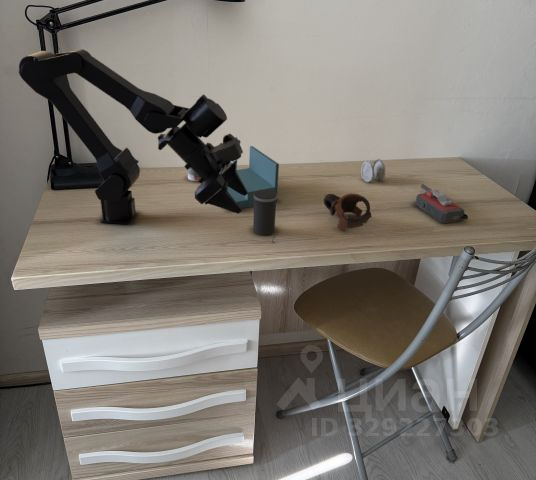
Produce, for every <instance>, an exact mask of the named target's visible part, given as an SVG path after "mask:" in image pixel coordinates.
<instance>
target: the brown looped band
mask: <svg viewBox="0 0 536 480" xmlns="http://www.w3.org/2000/svg"><path fill="white" fill-rule="evenodd" d="M322 200H323V204H324V207H326V209H327V210H328V211H329V213H330V216H331V217H333V216H334V215H337V217H338V219H339V222H338V224H337V228H338V229H339V230H341V231H342V232H343V231H345V230H346V229H354V228H359V227H362V226H364V224H367V223H368V221H369V220H370V219H371V218H373V216H372V212H371V204H370V201H369V200H368V199H367V198H366V197H364V196H363V195H361V194H358V193H351V192H350V193H345V194H344V195H342V196H337V195H336V194H334V193H327V194H325V195H324V197H323V198H322ZM359 202H362V203H363V204H364V205H365V208H366V209H365V212H364V213H363V209H361V208H360V207H358V206H357V204H358V203H359ZM347 213H349V214H353V215H356V216H352V215H349V214H348V215H347V217H346V216H344V215H345V214H347ZM362 213H363V214H362Z"/></svg>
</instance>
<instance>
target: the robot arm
mask: <svg viewBox="0 0 536 480" xmlns="http://www.w3.org/2000/svg"><path fill="white" fill-rule="evenodd" d="M17 71H18V75H19V76H20V78H21V80H22V81H23V82H24V83H25V84H26V85H28V87H30V88H31V89H32V90H33V91H34V92H35V93H36V94H37V95H40V96H41V97H43V98H45V99H46V100H47V101H49V102H50V103H51V104H52V105H53V107H54V108H55V109H56V110H57V111H58V113H59V114H60V115H61V117H62V118H63V119H64V120H65V122H66V123H67V124H68V126H69V127H70V128H71V129H72V131H73V132H74V133H75V134H76V136H77V137H78V138H79V140H80V141H81V142H82V143H83V145H84V146H85V147H86V149H87V150H88V151H89V153H90V154H91V155H92V156H93V158H94V159H95V161H96V165H97V169H98V173H99V175H100V177H101V179H102V181H103V182H102V183H101V184H100V185H99V186H98V187H97V188H96V189H95V190H94V193H95V196H96V197H97V199H98V200H100V208H101V216H102V217H101V218H100V219H99V222H100V223H103V224H117V225H129V224H130V222H131V221H132V219H134V217H135V216H136V214H137V210H136V201H135V197H133V194H132V193H133V192H132V190H130V188H132V187H133V185H134V184H135V182H137V180H138V179H139V178H140V174H141V173H140V172H141V169H140V166H139V164H138V163H139V162H140V161H139V160H138V159H136V157H134V156H133V154H132V152H131V150H130V148H128V147H125V148H123V149H120V148H118V147H117V146H115V145H114V144H113V143H112V141H111V140H110V138H109V137H108V136H107V134H105V132H104V130H103V129H102V128H101V127H100V125H99V124H98V123H97V122H96V120H95V119H94V117H93V116H92V115H91V113H90V112H89V111H88V109H87V108H86V107H85V105H84V104H83V103H82V102H81V100H80V99H79V98H78V96H77V95H76V94H75V92H74V91H73V89H72V88H71V84H70V82H69V77H68V75H71V74H72V75H73V74H76V75H78V76H79V77H80V78H82V79H84V80H86V81H87V82H88V83H89V84H90V85H93V86H94V87H96V88H97V89H98V90H99V91H101V92H103V93H104V94H106V95H107V96H109V97H110V98H111V99H113V100H115V101H116V102H118V103H119V104H121V105H122V106H124V107H125V108H126V109H127V110H128V111H129V112H130V114H131V115H132V117H133V118H134V119H135V121H136V122H137V123H139V124H140V125H141V126H142V127H143V128H144V129H145V130H146V131H148V132H149V133H151V134H153V135H154V134H155V135H157V134H159V135H158V136H157V142H158V145H157V146H158V147H157V149H158V150H159V151H162V150H163V149H164V148H165V147H166V146H168V147H169V148H171V150H172V151H173V152H174V153H175V154H176V155H177V156H178V157H179V158H180V159H181V160H182V161H183V162H184V163H185V165H184V166H183V167H184V168H185V170H187V171H188V169H189V168H191V169H192V170H193V171H194V172H195V173H196V174H197V175H198V176H199V177H200V178H199V180H198V181H197V182H198V183H200V184H199V185H197V188H196V189H195V191H194V199H195V200H196V201H197V202H198V203H199V204H200V205H210V206H214V207H217V208H221V209H223V210H226V211H228V210H229V211H230V212H232V213H234V214H237V215H238V214H240V213H242V211H243V209H242V208H240V207H239V205H238V204H237V203H236V201H235V200H234V199H233V197H232V196H231V195H230V194H229V192H228V190H227V186H228V187H229V188H231V189H233V190H234V191H236V192H238V193H240V194H241V195H243V196H246V195H247V194H248V192H247V190H246V188H245V186H244V184H243V182H242V181H241V179H240V177H239V175H238V173H237V170H238V169H237V168H238V160H239V159H240V158H242V154H244V150H243V148H242V146H241V140H240V139H238V137H237V136H236V137H235V136H234V135H233V134H231V133H227V134H225V135H223V138H222V142H220V143H219V144H218V145H215V146H214V145H213V144H212V143H211V142H206V143H205V142H204V141H203V140H202V139H201V138H202V137H203V138H206V139H207V138H209V137H210V136H211V135H212V134H213V133H214V132H215V131H216V130H217V129H218V128H220V127H221V126H222V125H224V123H225V122H226V121H227V120H228V117H227V114H226V112H225V110H224V109H223V108H222V106H221V105H220V104H219V103H217V102H216V101H214V100H213V99H211V98H208V97H207V95H205V94H202V95H201V96H199V98H198V99H197V100H196V102H194V103H193V105H192V106H191V107H190V108H189V107H185V106H181V105H177V104H176V105H175V104H173V103H172V101H170V100H168V99H166V98H164V97H162V96H160V95H158V94H157V93H153V92H150V91H146V90H143V89H141V88H139V87H137V86H136V85H134V83H132V82H130V81H129V80H127V79H126V78H125V77H123V76H122V75H120V74H118V73H117V72H116V71H114V70H113V69H112V68H110V67H109V66H107V65H105V64H104V63H103V62H102V61H100V60H98V59H97V58H96V57H94V56H93V55H91V53H90V52H89V51H88V50H86V49H84V48H83V49H82V48H79V49H75V50H73V51H64V52H58V53H54V52H51V51H48V50H41V51H38V52H35V53H32V54H29V55H26V56H24V57H22V58H21V59H20V61H19V63H18V70H17ZM183 122H184V123H183ZM181 123H183V124H182V125H181V126H180V124H181ZM168 129H170V130H168ZM166 130H168V131H167V132H166ZM164 132H166V133H164ZM229 211H228V212H229Z"/></svg>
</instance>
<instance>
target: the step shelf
mask: <svg viewBox="0 0 536 480" xmlns="http://www.w3.org/2000/svg"><path fill="white" fill-rule="evenodd" d="M248 162H249V163H248V165H249V166H248V168H242V169H237V173H238V175H239V177H240V179H241V181H242V182H243V184H244V186H245V188H246V190H247V192H248V194H247V195H246V196H243V195H241V194H240V193H238V192H236V191H234V190H233V189H231V188H229V187H228V186H227V190H228V192H229V194H230V195H231V196H232V197H233V199H234V200H235V201H236V203H237V204H238V205H239V207H240V208H241V209H245V208H251V207H254V193H255V192H256V191H258V190H264V189H265V190H271V191H274V192H275V193H276V194H277V195H278V187H279V185H278V184H279V169H280V164H279V163H278V162H277V161H275V160H274V159H272V158H271V157H269V156H268V155H266V154H265V153H263V152H262V151H261V150H259V149H257V148H256V147H254V146H253V145H250V146H249V160H248ZM277 202H278V198H277V199H276V203H277ZM227 211H228V212H229V210H227Z"/></svg>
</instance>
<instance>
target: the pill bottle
mask: <svg viewBox="0 0 536 480" xmlns="http://www.w3.org/2000/svg"><path fill="white" fill-rule="evenodd" d="M199 178H200V177H199V176H198V175H197V174H196V173H195V172H194V171H193V170H192V169H191V168H189V169H188V170H187V179H188V180H189V181H192V182H199V181H198V180H199Z"/></svg>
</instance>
